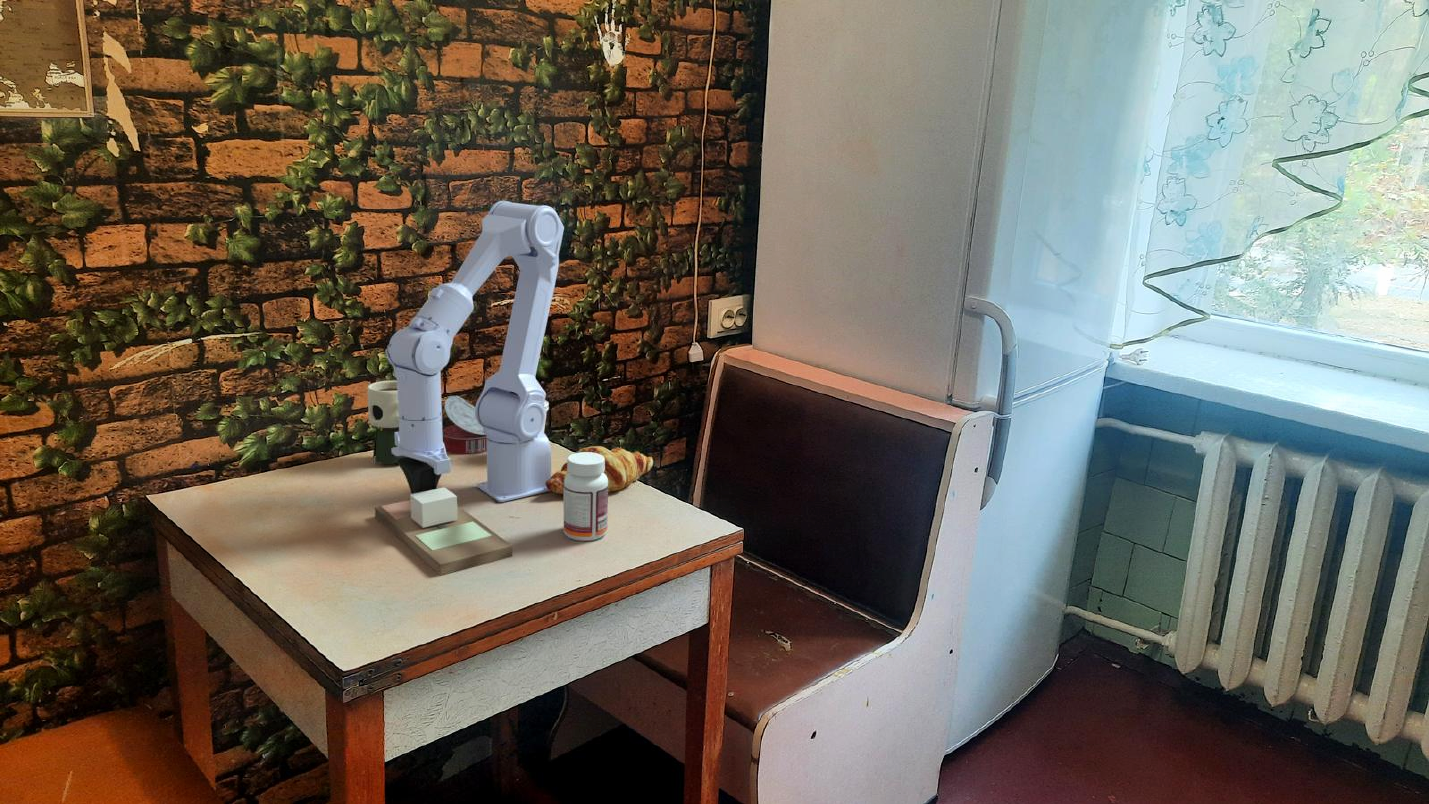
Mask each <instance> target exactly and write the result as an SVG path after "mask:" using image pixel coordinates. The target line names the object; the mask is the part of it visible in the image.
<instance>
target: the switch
mask: <svg viewBox="0 0 1429 804" xmlns="http://www.w3.org/2000/svg"><path fill="white" fill-rule="evenodd" d="M374 514H375V515H374V516H375V519H376V520H378V521H379V522H380V523H381V524H382V525H383V526H385V527H386V528H387V529H388V530H389V531H390V532H391V533H393V535H395V536H396V537H397V538H398V539H399V540H400V541H401V542H403V543H404V544H405V545H406V546H407V547H408V548H410V550H412V551H413V552H414V553H415V554H416V555H417V556H419V557H420V558H421V559H422V560H423V561H424V562H425V563H426V564H428V565H429V566H430V567H431V568H432V569H433V570H434V571H436V572H437V573H438V575H440V576H444V575H447V574H451V573H456V572H458V571H463V570H467V569H471V568H474V567H477V566H481V565H485V564H490V563H492V562H496V561H500V560H503V559H507V558H511V557H513V545H512V544H511V543H509V542H507V541H506V540H505V539H504V538H502V537H501V536H499V534H497V533H496V532H494V531H493V530H491V529H490V528H489V527H488V526H486V525H485V524H483V523H482V522H481V521H479V520H478V519H476V517H474V516H473V515H472V514H470V513H469V512H467V511H466V510H464V509H463V508H462V507H460V505H458V504H457V517H458V520H454V521H450V522H445V523H441V524H437V525H433V526H428V527H424V528H423V527H422V526H420V525H419V524H418V523H417V522H416V521H414V520H413V519H412V518H411V502H410V499H408V500H404V501H398V502H392V503H390V504H384V505H379V506H376V507H374Z"/></svg>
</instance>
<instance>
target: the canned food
mask: <svg viewBox="0 0 1429 804" xmlns="http://www.w3.org/2000/svg"><path fill="white" fill-rule="evenodd" d="M444 411H445V413H446V415H447V418H448V419H449V420H450V421H451V422H452V423H448V424H446V425H444V426H443V425H442V435H443V443H444V445H445V449H446V453H450V454H452V455H453V454H454V455H479V454H484V453H487V439H486V438H487V436H486V435H485V434H483V427H482V426H481V425H480V424H479V423H478V422H477V420H476V417H475V406H474V405H473V404H471V403H469V402H468V401H467V400H466V399H465V398H462V397H461V396H458V395H450V396H449V397H447V399H445V402H444Z"/></svg>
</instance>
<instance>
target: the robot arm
mask: <svg viewBox="0 0 1429 804" xmlns="http://www.w3.org/2000/svg"><path fill="white" fill-rule="evenodd" d="M489 209H490V210H489V211H488V213H487V215H485V216H484V217H483V219H482V220H481V228H482V229H481V230H482V232H481V233H480V235H479V237H478V238H477V239H476V241H475V243H474V244H473V246H472V248H471V249H470V251H469V253H468V254H467V256H466V258H465V259H464V260H463V263H462V264H461V266H460V267H459V269H458V270H457V272H456V274H455V276H454V277H453V279H452V280H451V281H450V282H447V283H441V284H439V285H437V286H436V287H432V289H431V291H430V292H429V293H428V296H429V297H428V299H427V300H426V301H425V302H424V304H423V306H422V307H421V308H420V309H419V311H418V312H417V314H416V315H415V316H414V317H413V318H411V320H410V322H409V325H408V326H405V327H403V328H399V329H398V330H397V331H396V332H395V333H394V334H393V335H392V336H391V338H390V340H389V343H388V348H386V349H385V357H386V358H387V360H388V363H390V365H392V367H393V374H394V375H393V376H394V378H396V381H397V393H398V415H399V432H395V445H396V446H398V447H394V448H392V449H391V450H392V454H394V455H395V456H406V457H405V458H400V459H398V460H397V462H398V463H397V464H398V466H399V467H400V469H401V471H402V472H403V475H404V476H405V478H406V481H407V484H408V488H409V491H410V494H415V493H419V492H424V491H429V490H434V489H438V488H437V487H438V484H439V481H440V479H441V477H442V475H444V474H448V473H451V472H452V467H451V466H452V465H451V458H450V457H448V455H447V452H446V449H445V445H444V443H443V435H442V427H443V409H442V383H441V382H442V381H441V378H442V377H441V375H442V374H441V371H442V370H443V369H444V368H445V367H446V366H447V365H448V363H449V361H450V357H451V348H452V345H453V342H454V338H455V336H456V334H457V333H459V331H460V329H461V328H462V326H464V324H465V322H466V321H467V320H468V319H469V316H470V315H471V314H472V313H473V312H474V307H475V306H474V301H473V297H474V295H475V294H476V293H477V291H478V290H479V289H480V288H481V287H482V285H483V284H484V283H485V282H486V281H487V279H488V278H489V277H490V276H491V275H492V274H493V272H494V271H495V270H496V269H497V268H498V267H499V265H500V264H501V263H502V262H503V261H504V259H505V258H507V257H508V258H509V257H512V259H513V260H514V261H515V263H516V264H517V266H518V269H519V276H518V280H517V283H516V284H517V285H516V291H515V293H514V299H513V303H512V309H511V313H510V318H509V323H508V328H507V333H506V338H505V341H504V342H505V343H504V347H503V352H502V356H501V361H500V365H499V370H498V371H496V372H495V373H494V374H492V375H491V376H489V377H488V378H487V379H485V383H484V387H483V389H482V392H481V394H480V396H479V397H478V398H477V401H476V403H475V406H474V407H475V417H476V420H477V422H478V423H479V424H480V425H481V426H482V427H483V434H485V435H486V436H487V438H486V439H487V452H486V479H487V481H483V482H478V483H477V484H476V487H477V488H479V489H480V490H481V491H482V492H484V493H485V494H487V495H488V496H490V497H491V498H493V499H494V500H495V501H497V502H499V503H504V502H507V501H512V500H517V499H521V498H526V497H529V496H533V495H534V496H535V495H538V494H542V493H547V492H551V491H550V490H548V489H547V487H546V481H547V480H549V479H550V478H551V477H552V446H551V442H550V440H549V438H548V436H547V435H546V433H545V432H544V433H543V432H542V431H541V430H542V428H543V425H544V422H545V423H546V421H545V408H544V403H545V401H546V396H547V393H546V392H545V390H544V389H543V387H542V386H541V384H540V383H539V381H538V380H537V379H536V375H537V371H538V367H539V366H538V365H539V361H540V355H541V352H542V348H543V347H542V346H543V342H544V337H545V333H546V329H547V328H546V327H547V323H548V318H549V313H550V308H551V305H552V300H553V296H554V290H555V286H556V280H557V277H558V272H559V265H560V258H559V257H560V255H559V254H560V250H561V246H562V240H563V235H564V230H565V226H564V225H563V223H562V221H561V219H560V217H559V215H558V212H557V211H556V210H555V209H554V208H553V207H551V206H549V205H536V204H535V205H534V204H526V203H517V202H511V201H509V200H508V201H507V200H500V201H497V202H495V203H493V205H492V206H491V207H490V208H489ZM510 392H513V393H510Z"/></svg>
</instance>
